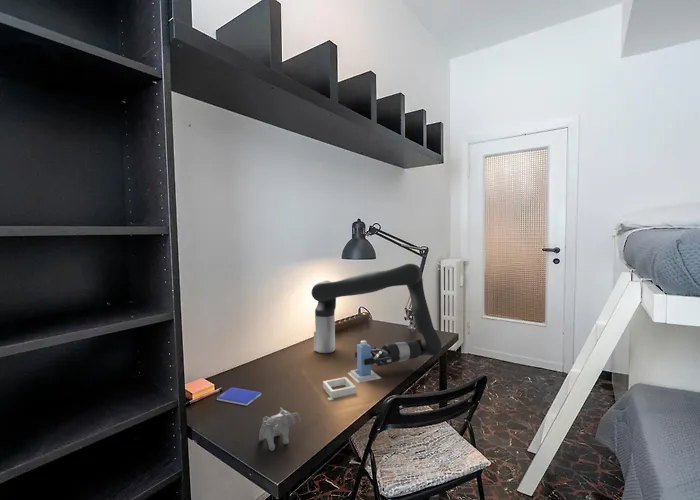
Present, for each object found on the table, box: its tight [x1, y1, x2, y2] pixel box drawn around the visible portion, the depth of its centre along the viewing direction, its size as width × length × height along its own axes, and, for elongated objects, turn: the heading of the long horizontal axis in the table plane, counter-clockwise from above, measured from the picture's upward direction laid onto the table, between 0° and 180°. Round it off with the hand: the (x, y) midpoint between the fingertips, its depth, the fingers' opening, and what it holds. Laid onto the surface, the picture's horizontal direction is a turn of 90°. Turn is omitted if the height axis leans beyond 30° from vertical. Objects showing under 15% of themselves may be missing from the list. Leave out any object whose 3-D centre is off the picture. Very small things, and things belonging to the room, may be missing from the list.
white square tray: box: [347, 368, 382, 384], centre depth 137 cm, size 10×10×2 cm
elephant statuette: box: [258, 407, 303, 452], centre depth 97 cm, size 9×12×8 cm
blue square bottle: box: [356, 339, 372, 377], centre depth 136 cm, size 4×4×14 cm
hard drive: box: [216, 386, 262, 406], centre depth 122 cm, size 2×8×12 cm
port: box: [322, 376, 357, 402], centre depth 124 cm, size 12×12×3 cm
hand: (359, 358), depth 136 cm, fingers open, 8 cm apart
